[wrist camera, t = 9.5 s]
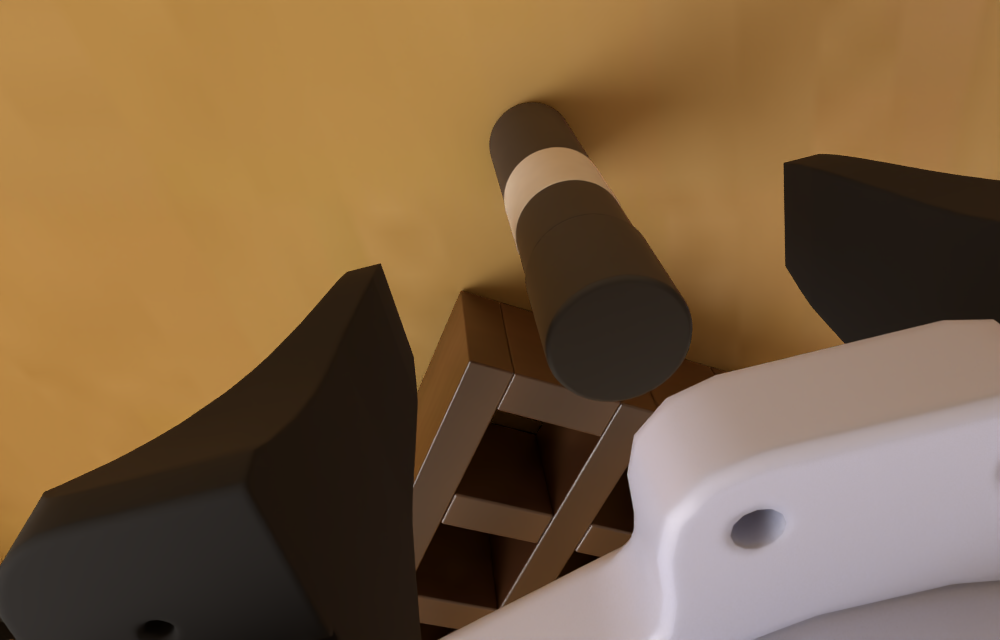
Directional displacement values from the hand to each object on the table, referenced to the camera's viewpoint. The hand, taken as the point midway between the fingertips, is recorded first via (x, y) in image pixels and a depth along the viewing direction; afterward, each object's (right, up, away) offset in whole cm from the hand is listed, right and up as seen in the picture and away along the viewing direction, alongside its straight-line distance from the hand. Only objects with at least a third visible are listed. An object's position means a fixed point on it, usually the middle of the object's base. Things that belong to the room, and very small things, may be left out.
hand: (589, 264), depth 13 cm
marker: (-1, +4, +6) cm, 7 cm away
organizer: (-1, -7, +12) cm, 14 cm away
